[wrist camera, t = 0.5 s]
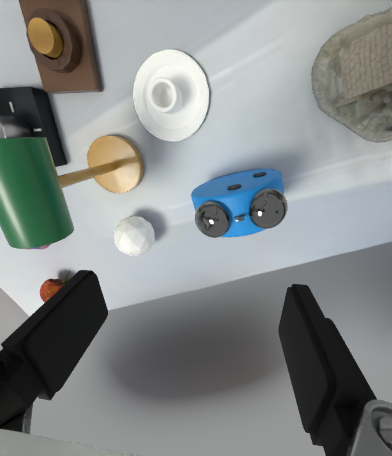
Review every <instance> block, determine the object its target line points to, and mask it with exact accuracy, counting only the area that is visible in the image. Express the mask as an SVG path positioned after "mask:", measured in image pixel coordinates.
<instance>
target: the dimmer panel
mask: <svg viewBox="0 0 392 456" xmlns="http://www.w3.org/2000/svg"><path fill="white" fill-rule="evenodd" d="M0 116H11V117H19V118H21V119H23V120H24V121H25V122H26V123H27V124H28V126H29V128H30V130H31V137H45V138H46V139H47V143H48V146H49V149H50V152H51V155H52V159H53V162H54V165H55V167H57V166H62V165H67V162H66V158H65V155H64V151H63V148H62V144H61V141H60V137H59V134H58V130H57V126H56V123H55V119H54V116H53V112H52V109H51V105H50V102H49V98H48V95H47V92H45V91H44V90H42V89H38V88H34V87H17V88H0Z"/></svg>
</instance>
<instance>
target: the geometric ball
mask: <svg viewBox="0 0 392 456" xmlns="http://www.w3.org/2000/svg"><path fill="white" fill-rule="evenodd" d="M114 242H115V244H116V245H117V247H118V249H119V250H120V251H122V252H123V253H125V254H127V255H128V256H130V255H141V254H143V253H145V252H147V251H148V250H149V249H150V248H151V246H152V245H153V243H154V242H155V231H154V229H153V227H152V225H151V223H149V222H148V221H147V220H145V219H144V218H142V217H135V216H130V217H128V218H126V219H123V220H121V221H120V222H119V224H118V225H117V227H116V228H115V230H114Z"/></svg>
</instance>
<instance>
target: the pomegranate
mask: <svg viewBox="0 0 392 456" xmlns="http://www.w3.org/2000/svg"><path fill="white" fill-rule="evenodd" d="M69 272H70V271H69ZM68 274H69V273H68ZM68 274H67V276H68ZM67 276H66V277H65V279H64V281H63V280H60V279H48V280H46V281H45V282H44V283H43V285H42V286H41V289H40V296H41V298H42V300H43V301H44V302H46V301H47V300H48V299H50V298H51V297H52V296H53V295H54V294H55V293H56V292H57V291H58V290H59V289H60V288H61V287H62V286H63V285H64V284H66V282H65V280H66V278H67Z"/></svg>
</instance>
